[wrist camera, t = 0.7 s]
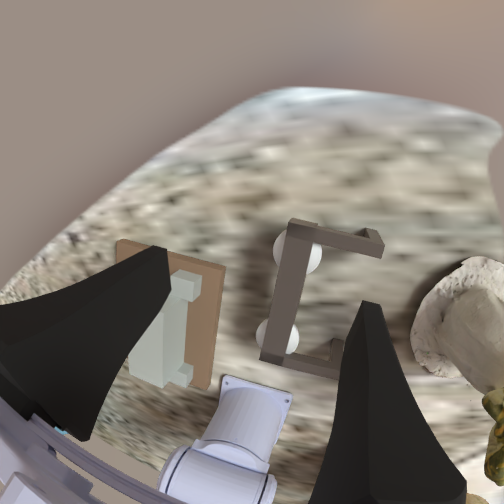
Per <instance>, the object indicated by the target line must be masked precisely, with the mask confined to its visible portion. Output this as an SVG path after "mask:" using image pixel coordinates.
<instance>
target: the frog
mask: <svg viewBox="0 0 504 504" xmlns="http://www.w3.org/2000/svg"><path fill="white" fill-rule="evenodd" d="M461 264H463V265H462V266H461V267H460V268H458V269H456V270H455V271H454V272H452V273H450V275H447V276H446V277H444V278H443V279H442V280H441V281H440V282H438V283H437V284H436V285H435V287H434V288H433V289H432V290H431V291H430V292H429V293H428V294H427V295H426V296H425V297H424V299H423V300H422V303H421V305H420V307H419V310H418V312H417V314H416V318H415V320H414V323H413V326H412V328H411V332H410V341H411V346H412V350H413V352H414V356H415V358H416V360H417V361H418V362H420V365H421V366H425V367H426V368H427V369H428V370H429V371H430V372H433V374H434V375H436V376H442V377H443V376H444V377H446V378H455V377H463V376H464V377H465V378H466V379H467V381H468V382H470V384H471V385H472V386H473V387H474V388H475V389H476V390H478V391H479V392H481V393H483V394H485V396H484V397H483V399H482V405H483V407H484V409H485V410H486V411H487V412H488V414H489V415H490V416H491V417H492V418H493V419H494V420H495V421H496V424H495V425H494V426H493V428H492V430H491V432H490V435H489V442H488V447H487V453H486V457H485V464H484V471H485V475H486V477H487V478H489V479H490V480H491V481H493V482H495V484H496V485H498V486H504V264H502V263H500V262H498V261H495V260H492V259H489V258H487V257H482V256H476V257H471V258H468V259H467V260H465V261H463V262H462V263H461ZM467 386H468V384H467ZM470 401H471V400H470Z"/></svg>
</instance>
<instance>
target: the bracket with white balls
mask: <svg viewBox="0 0 504 504" xmlns="http://www.w3.org/2000/svg"><path fill="white" fill-rule="evenodd" d="M321 244H323V245H327V246H331V247H335V248H339V249H343V250H347V251H352V252H356V253H360V254H364V255H368V256H372V257H376V258H380V259H381V258H382V254H383V251H384V247H385V245H384V243H383V241H382V239H381V237H380V235H379V233H378V232H377V230H373V229H369V228H366V229H365V233H364V237H361V236H357V235H353V234H349V233H345V232H341V231H337V230H333V229H329V228H325V227H320V226H318V224H317V223H313V222H308V221H304V220H300V219H295V218H291V220H290V221H289V222H288V226H287V229H286V230H285V231H283V232H282V233H281V234H280V235H279V236H278V238H277V239H276V241H275V243H274V246H273V256H274V260H275V262H276V264H277V265H278V266H279V271H278V276H277V280H276V285H275V290H274V294H273V299H272V304H271V308H270V313H269V318H267V319H265V320H264V321H263V322H262V323H261V324H260V325H259V327H258V329H257V332H256V341H257V343H258V345H259V347H260V348H261V353H260V358H259V360H261V361H264V362H268V363H271V364H275V365H279V366H282V367H286V368H290V369H294V370H298V371H302V372H306V373H310V374H314V375H318V376H322V377H327V378H331V379H335V380H339V376H340V367H341V361H342V357H343V340H338V339H334V338H333V341H332V344H331V347H330V357H329V361H325V360H321V359H317V358H313V357H309V356H305V355H301V354H297V353H293V352H294V351H295V349H296V348H297V346H298V343H299V338H300V335H299V331H298V328H297V327H296V325H295V324H294V322H295V318H296V314H297V310H298V306H299V302H300V298H301V294H302V290H303V286H304V282H305V278H306V274H309V273H310V272H312V271H313V270H314V269H315V268H316V267H317V266H318V264H319V262H320V260H321V256H322V246H321Z"/></svg>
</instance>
